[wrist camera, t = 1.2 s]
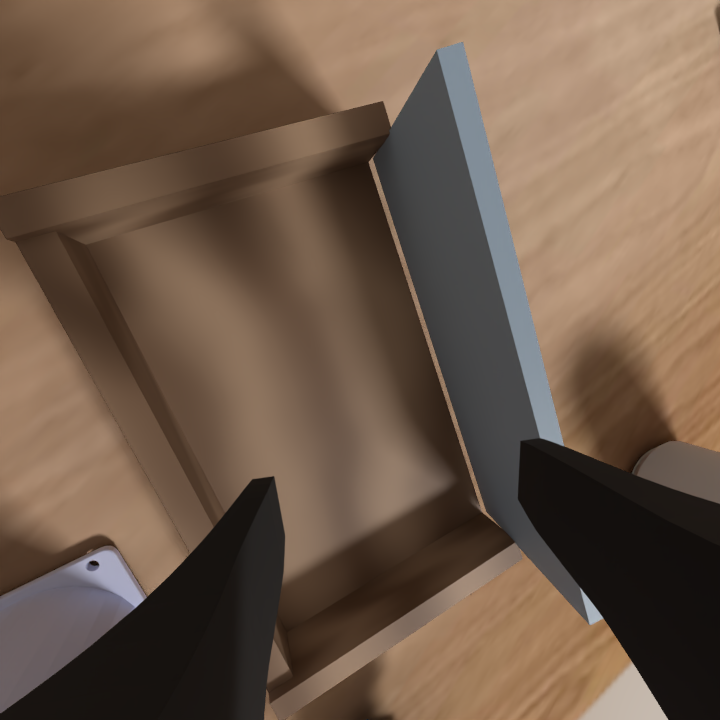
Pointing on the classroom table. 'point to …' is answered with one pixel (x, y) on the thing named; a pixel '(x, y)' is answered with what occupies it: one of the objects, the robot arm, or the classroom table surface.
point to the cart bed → (274, 374)
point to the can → (683, 469)
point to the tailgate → (472, 293)
